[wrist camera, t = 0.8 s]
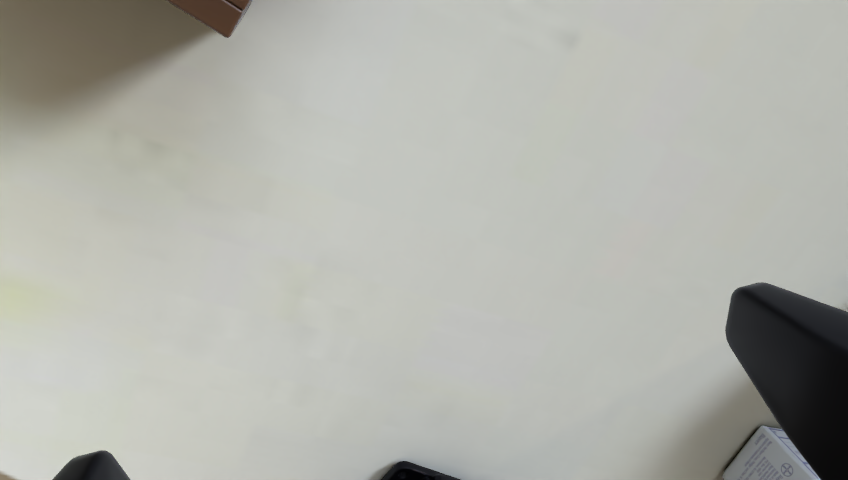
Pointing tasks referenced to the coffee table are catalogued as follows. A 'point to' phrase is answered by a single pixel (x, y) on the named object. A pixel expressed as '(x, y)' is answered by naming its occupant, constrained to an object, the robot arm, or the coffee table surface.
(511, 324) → the coffee table surface
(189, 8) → the crate
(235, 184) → the coffee table surface
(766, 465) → the medicine box
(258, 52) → the coffee table surface
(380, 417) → the coffee table surface
